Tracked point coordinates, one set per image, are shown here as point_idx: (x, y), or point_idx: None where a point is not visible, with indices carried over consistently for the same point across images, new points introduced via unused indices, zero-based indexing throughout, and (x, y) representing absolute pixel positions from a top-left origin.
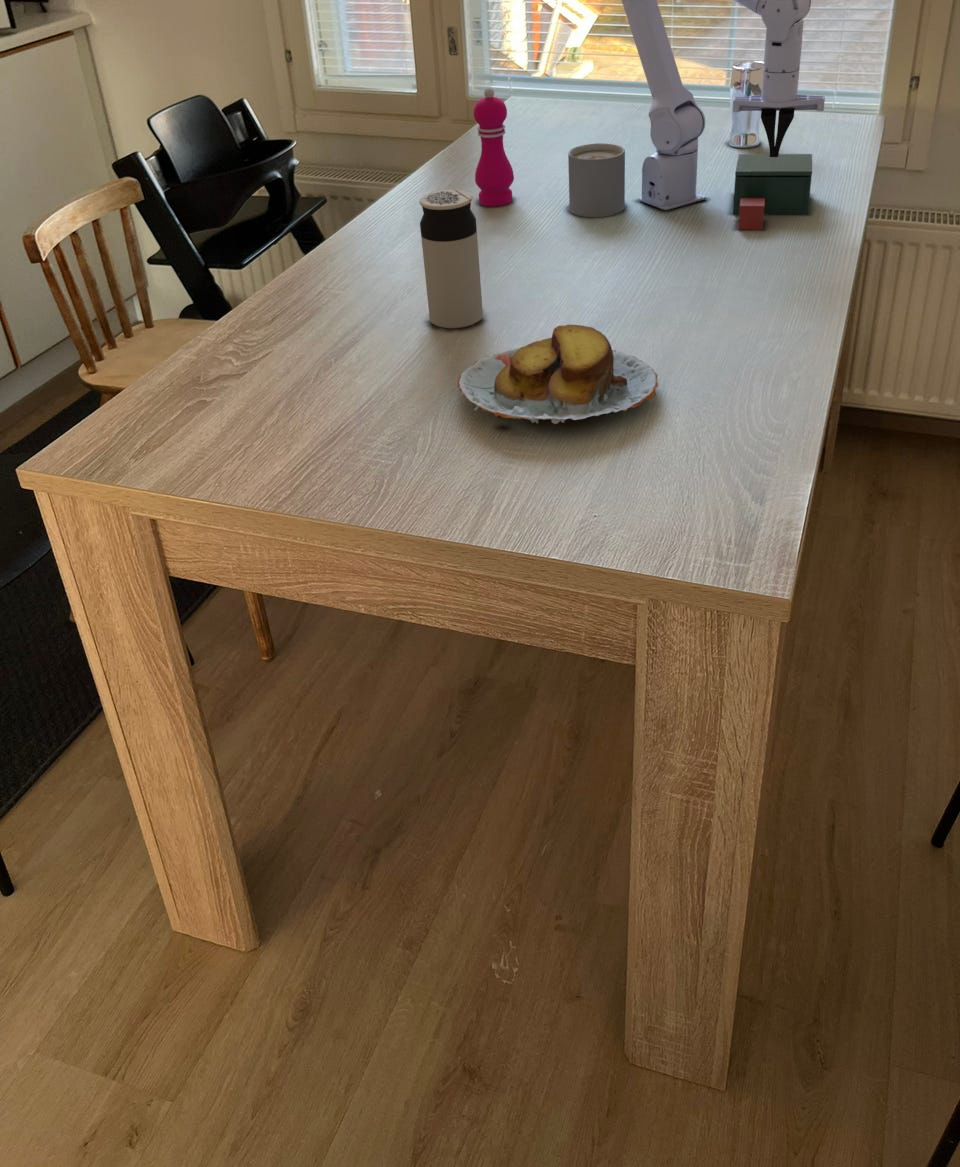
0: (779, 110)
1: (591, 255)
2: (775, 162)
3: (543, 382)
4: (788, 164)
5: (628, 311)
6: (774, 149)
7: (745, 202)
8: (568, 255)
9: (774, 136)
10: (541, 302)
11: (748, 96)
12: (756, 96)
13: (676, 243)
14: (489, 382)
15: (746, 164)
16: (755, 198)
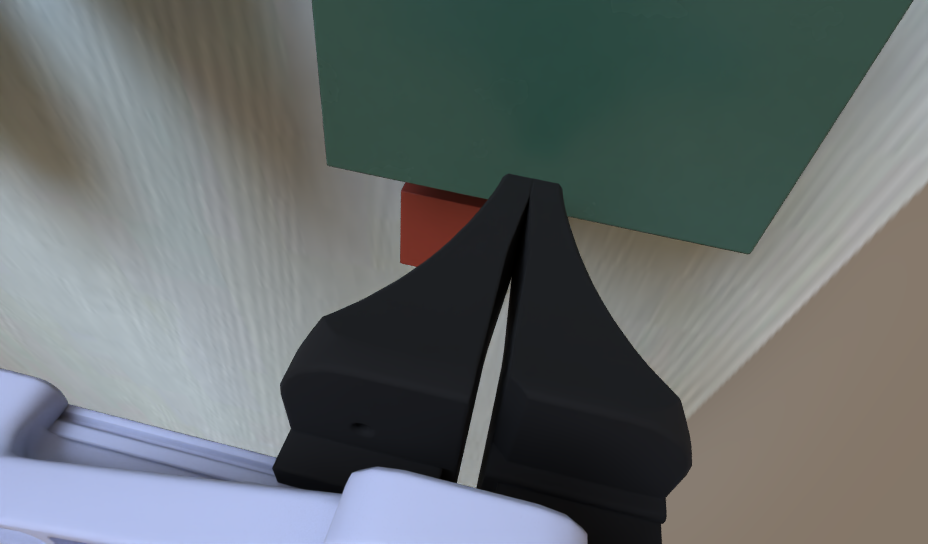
0: (490, 475)
1: (101, 283)
2: (587, 5)
3: None
4: (667, 80)
5: (273, 456)
6: (517, 249)
7: (420, 238)
8: (53, 273)
9: (497, 301)
10: (138, 410)
11: (17, 528)
12: (114, 534)
13: (264, 263)
14: None
15: (375, 25)
16: (460, 208)
